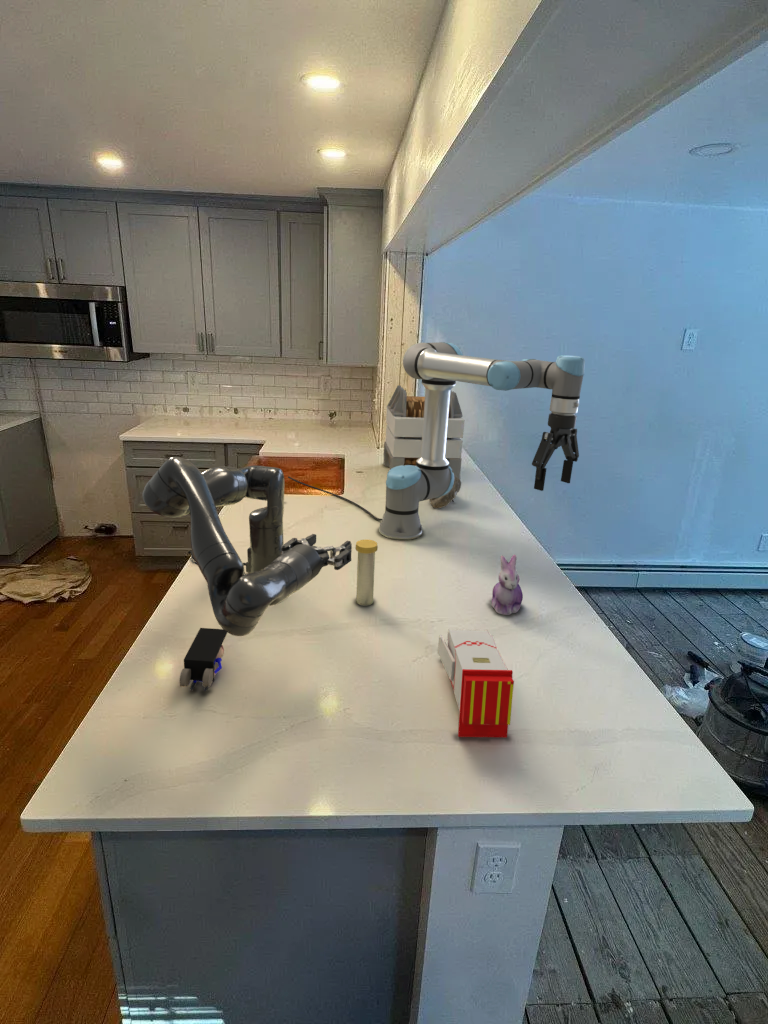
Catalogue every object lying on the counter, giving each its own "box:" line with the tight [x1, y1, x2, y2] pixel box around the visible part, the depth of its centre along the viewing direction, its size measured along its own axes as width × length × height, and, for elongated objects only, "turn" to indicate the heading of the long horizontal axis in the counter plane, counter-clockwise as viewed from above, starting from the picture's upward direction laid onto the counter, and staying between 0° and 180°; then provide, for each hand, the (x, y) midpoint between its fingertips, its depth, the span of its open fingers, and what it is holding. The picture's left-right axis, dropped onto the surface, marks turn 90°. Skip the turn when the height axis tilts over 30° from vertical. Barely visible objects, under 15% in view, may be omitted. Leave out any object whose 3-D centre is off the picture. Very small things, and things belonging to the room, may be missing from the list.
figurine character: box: [178, 627, 228, 692], centre depth 119 cm, size 7×8×15 cm
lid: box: [355, 539, 379, 554], centre depth 147 cm, size 6×6×2 cm
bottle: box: [355, 551, 376, 607], centre depth 150 cm, size 4×4×17 cm
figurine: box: [491, 554, 524, 616], centre depth 150 cm, size 9×10×15 cm
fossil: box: [429, 477, 462, 509], centre depth 234 cm, size 22×10×15 cm
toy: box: [437, 628, 515, 738], centre depth 117 cm, size 12×13×30 cm
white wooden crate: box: [383, 384, 465, 480], centre depth 268 cm, size 34×33×41 cm
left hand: (332, 541), depth 126 cm, fingers open, 8 cm apart
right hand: (552, 485), depth 166 cm, fingers open, 13 cm apart
